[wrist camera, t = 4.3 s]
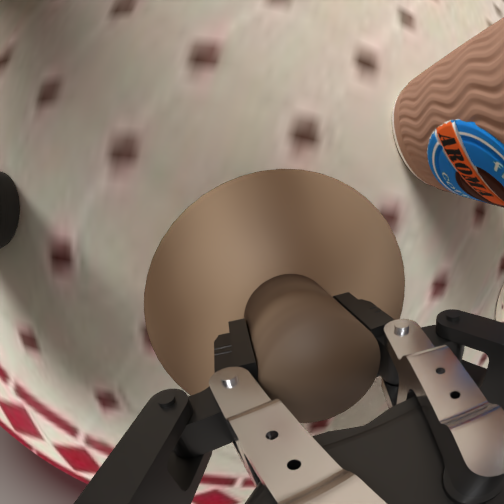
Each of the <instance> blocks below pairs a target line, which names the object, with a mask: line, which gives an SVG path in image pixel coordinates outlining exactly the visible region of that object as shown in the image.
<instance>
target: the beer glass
mask: <svg viewBox="0 0 504 504" xmlns="http://www.w3.org/2000/svg"><path fill="white" fill-rule="evenodd" d="M495 318H496V321H499V322H502V323H504V284H503V287H502V289H501V291H500V294H499V297H498V301H497V306H496V313H495Z"/></svg>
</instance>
